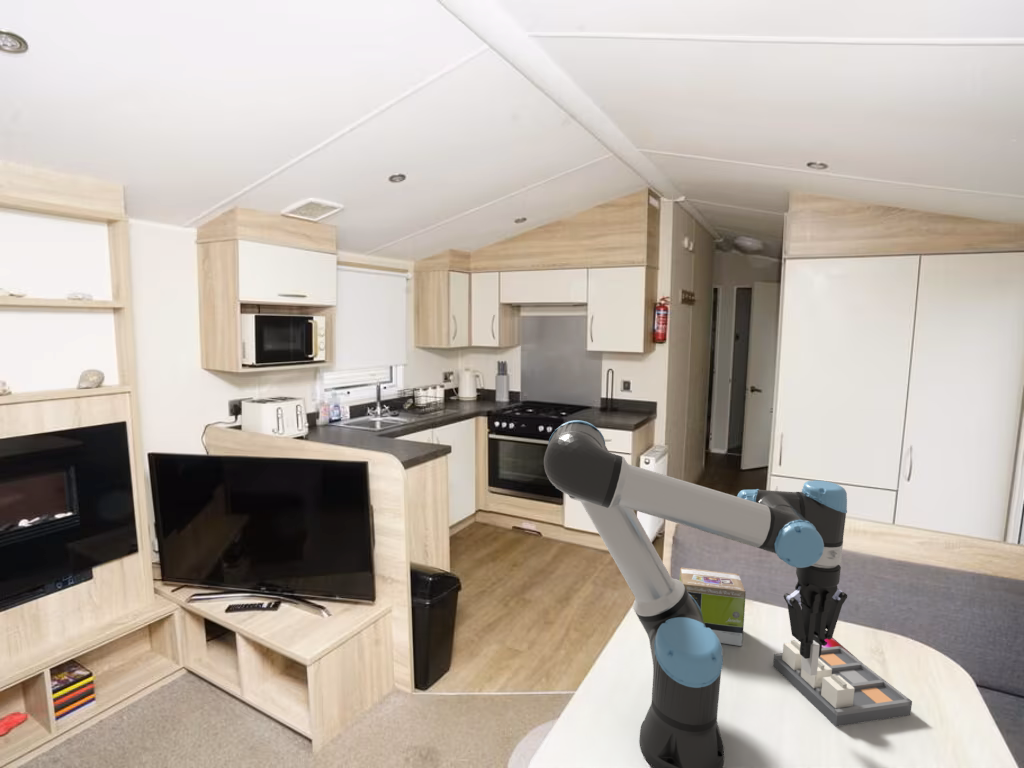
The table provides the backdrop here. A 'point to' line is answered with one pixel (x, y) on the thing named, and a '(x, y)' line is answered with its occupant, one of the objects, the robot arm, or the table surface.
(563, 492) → the robot arm
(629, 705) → the table surface
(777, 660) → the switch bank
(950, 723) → the table surface
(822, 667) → the tab
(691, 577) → the tea box
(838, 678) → the tab
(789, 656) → the tab
